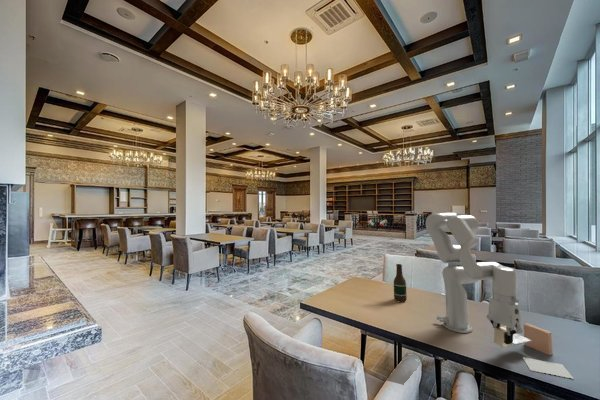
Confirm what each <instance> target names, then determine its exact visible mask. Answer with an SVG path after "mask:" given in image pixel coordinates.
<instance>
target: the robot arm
mask: <svg viewBox="0 0 600 400" xmlns="http://www.w3.org/2000/svg"><path fill="white" fill-rule="evenodd" d="M425 228H426V231H427V233H428V235H429V236H430V238H431V239H432V242H433V245H434V248H435V250H436V253H437V256H438V258H439V260H440V261H441V263H444V264H452V265H447V266H445V267H444V268H443V269H442V272H441V274H442V279H443V284H444V290H445V293H444V295H445V311H446V314H445V315H443V316H441V315H436V320H438V321H439V322H440V323H443V327H445V329H447V330H448V331H451V332H455V333H460V334H468V333H471V332H472V331H473V327H472V326H471V324H469V314H468V312H469V311H468V308H469V307H468V293H467V291H466V289H465V288H464V286H463V285H465V284H466V285H467V284H475V283H478V282H479V281H484V280H485V281H487V280H491V281H492V282H491V283H492V289H491V290H492V295H491V297H490V300H489V305H488V314H487V315H486V319H487V320H489V322H490V323H491V325H492V328H493V329H494V331H495V328H498V327H505V328H506V331H507V334H506V337H505V343H506V344H511V343H512V342H513V334H522V333H523V334H524V330H523V329H522V317H521V310H520V306H519V303H520V302H519V301H520V299H518V298H517V296H516V293H517V291H516V290H517V287H516V285H517V282H516V281H517V272H516V270H515V269H514V268H512V267H508V266H505V265H502V264H500V263H498V262H496V261H479V262H476V260H475V259H474V256H473V255H472V252H471V249H473V248H475V247H476V246H477V245H478V244H479V242H480V240H479V238H478V236H477V235H476V234H475V231H477V230H478V228H479V221H478V219H477V218H476V217H475V216H473V215H470V214H466V213H459V212H435V213H430V214H429V215H428V216H427V217H426V219H425ZM443 229H448V230H449V232H451V234H452V235H453V238H454V239H455V240H456V242H457V243H458V244H453V242H452V240H451V238H450V236H449V234H448V233H447V232H446V231H444V230H443ZM501 325H502V326H501Z"/></svg>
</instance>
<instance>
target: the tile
mask: <svg viewBox="0 0 600 400" xmlns="http://www.w3.org/2000/svg"><path fill="white" fill-rule="evenodd" d="M523 337H525V338H528V339H530V340H532V342H528V343H523V344H524V345H525V346H527V347H529V348H532V349H533V350H536V351H539V352H541V353H542V354H546V355H548V356H552V355H554V351H553V350H554V349H553V333H552V331H549V330H547V329H543V328H540V327H538V326H535V325H533V324H530V323H523Z"/></svg>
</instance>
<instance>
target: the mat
mask: <svg viewBox="0 0 600 400" xmlns="http://www.w3.org/2000/svg"><path fill="white" fill-rule="evenodd" d="M522 360H523V361H524V362H525V364H526V366H527V367H528V369H529V371H531V372H536V373H540V374H544V373H546V374H545V375H549V374H551V375H550V376H554V375H556V376H555V377H559V376H560V377H559V378H564V377H565V378H564V379H569V378H571V379H570V380H575V378H574V376H573V375H571V373H570V372H569V371H568V369H567V368H566V367H565V366H564V365H563V364H562V363H558V362H557V363H556V362H553V361H552V362H551V361H546V360H540V359H535V358H530V357H525V356H522Z"/></svg>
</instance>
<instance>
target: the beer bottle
mask: <svg viewBox="0 0 600 400" xmlns="http://www.w3.org/2000/svg"><path fill="white" fill-rule="evenodd" d="M403 275H404V274H403V265H402V263H401V264H400V263H397V264H396V275H395V277H394V279H393V298H394V299H395V300H397V301H400V302H402V303H406V302H407V301H406V300H408V299H407V297H408V296H407V281H406V279H405V277H404V276H403ZM395 300H394V301H395ZM405 301H406V302H405ZM400 302H399V303H400Z"/></svg>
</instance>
